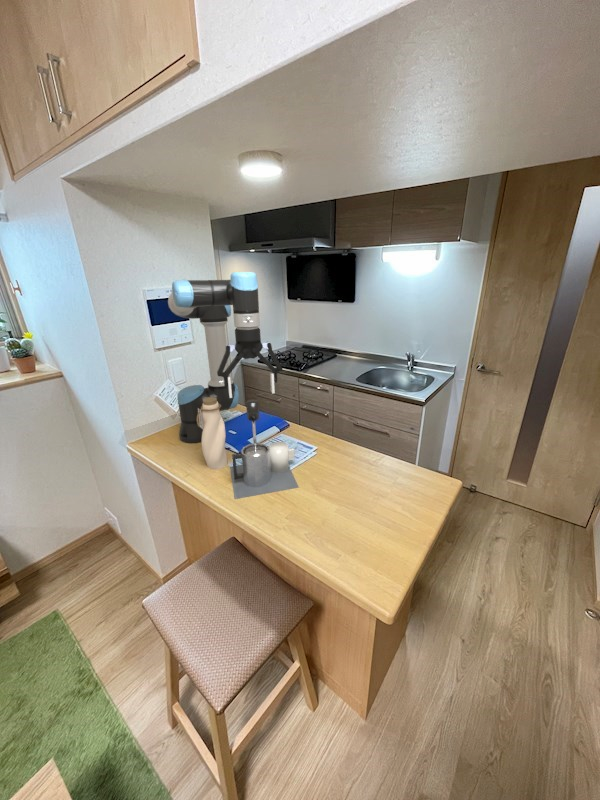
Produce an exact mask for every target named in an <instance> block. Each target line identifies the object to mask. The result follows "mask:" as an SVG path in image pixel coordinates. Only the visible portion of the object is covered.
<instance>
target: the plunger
mask: <svg viewBox="0 0 600 800" xmlns="http://www.w3.org/2000/svg"><path fill="white" fill-rule="evenodd" d="M259 403H260V402H259V400H258V399H253V398H252V399H248V400H246V401H245V406H246V417H247V418H246V420H248V421H251V424H252V425H251V426H252V439H253V440H252V441H253V444H254V446H253V447H249V448H248V449H246V450H245V454H246V455H247V456H261V455H263V454H265V453H266V449H265V448H264V447H261V446H257V443H258V442H257V429H256V421H258V420H259V419H260V407H259Z"/></svg>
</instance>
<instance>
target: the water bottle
mask: <svg viewBox="0 0 600 800" xmlns="http://www.w3.org/2000/svg"><path fill="white" fill-rule="evenodd" d="M202 408H203V409H202ZM219 408H221V404H219V403H218V402H217V398H215V397H208V398H205V399H203V405H202V406H201V409H199V408H198V414H197V424H198V427H201V428H202V429H203V432H202V442H201V450H202V455H203V458H204V460H205V463H206V466H207V468H208V469H210V470H213V471H214V470H216V471H217V470H220V469H223V468H225V467H226V466H227V465H228V454H227V451H226V446H225V444H226V437H227V436H226V435H227V434H226V427H225V426H226V425H225V422H224V421H225V420H224V419H223V417H222V414H221V411H219ZM199 410H200V411H199ZM201 411H202V413H201ZM198 417H199V421H198ZM199 424H200V425H199Z"/></svg>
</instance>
